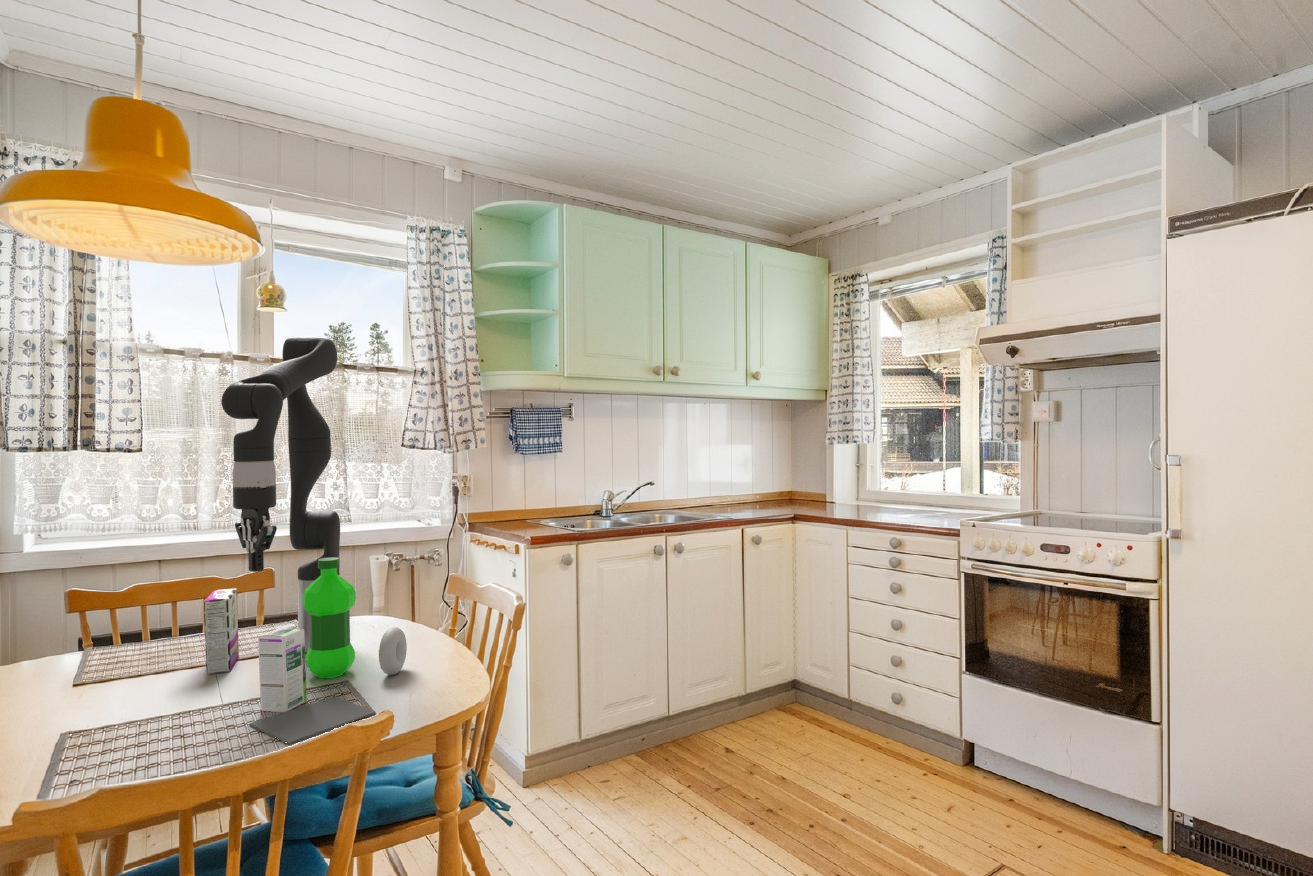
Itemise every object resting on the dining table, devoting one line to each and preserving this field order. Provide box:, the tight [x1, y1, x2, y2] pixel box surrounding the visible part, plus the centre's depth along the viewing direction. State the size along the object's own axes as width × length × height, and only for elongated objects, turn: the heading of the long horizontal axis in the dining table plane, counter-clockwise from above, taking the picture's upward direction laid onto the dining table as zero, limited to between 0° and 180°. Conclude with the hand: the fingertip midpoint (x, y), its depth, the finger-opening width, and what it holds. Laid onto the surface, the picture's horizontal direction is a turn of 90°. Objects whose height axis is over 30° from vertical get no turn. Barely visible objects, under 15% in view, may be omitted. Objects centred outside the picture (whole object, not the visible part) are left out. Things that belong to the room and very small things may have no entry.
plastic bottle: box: [303, 557, 357, 679], centre depth 156 cm, size 10×10×25 cm
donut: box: [378, 626, 408, 676], centre depth 156 cm, size 10×4×10 cm, turn 0°
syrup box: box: [257, 626, 308, 713], centre depth 138 cm, size 6×6×14 cm
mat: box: [248, 695, 376, 746], centre depth 131 cm, size 14×16×1 cm
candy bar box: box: [203, 588, 240, 675], centre depth 162 cm, size 11×5×16 cm, turn 22°
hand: (256, 570), depth 143 cm, fingers closed
